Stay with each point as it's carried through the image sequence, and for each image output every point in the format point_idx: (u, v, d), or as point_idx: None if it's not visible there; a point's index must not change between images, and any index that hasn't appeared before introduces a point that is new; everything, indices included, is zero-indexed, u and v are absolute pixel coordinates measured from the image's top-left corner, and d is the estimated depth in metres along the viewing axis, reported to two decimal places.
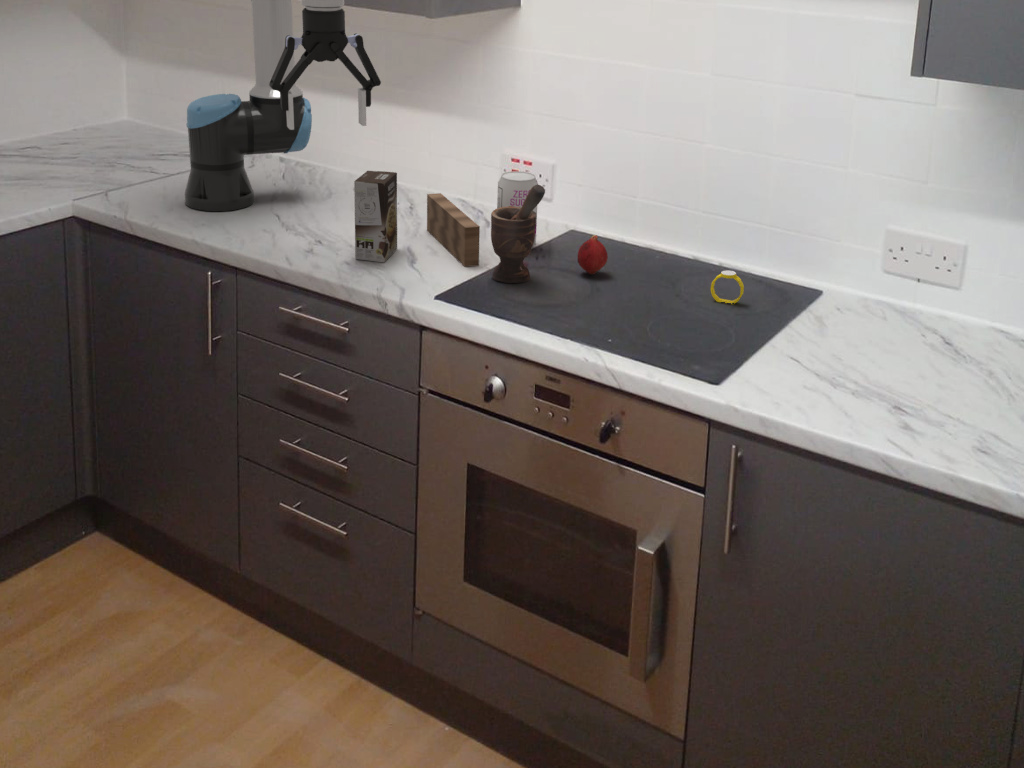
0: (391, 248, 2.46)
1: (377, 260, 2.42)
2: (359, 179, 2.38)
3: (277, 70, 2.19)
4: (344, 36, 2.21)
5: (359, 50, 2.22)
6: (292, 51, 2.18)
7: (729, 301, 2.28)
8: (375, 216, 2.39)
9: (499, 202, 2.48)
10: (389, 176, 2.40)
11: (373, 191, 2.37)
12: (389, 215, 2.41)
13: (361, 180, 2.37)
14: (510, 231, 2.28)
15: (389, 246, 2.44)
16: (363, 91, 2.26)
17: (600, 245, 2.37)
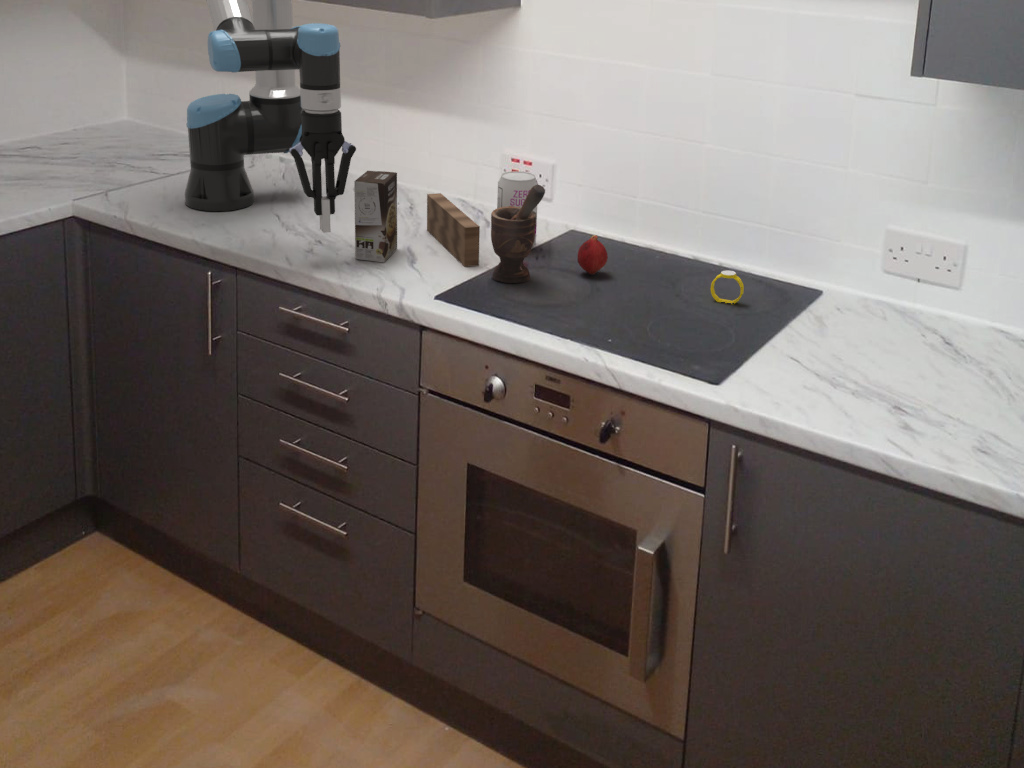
0: (391, 248, 2.46)
1: (377, 260, 2.42)
2: (359, 179, 2.38)
3: (301, 180, 2.34)
4: (343, 138, 2.33)
5: (346, 157, 2.35)
6: (301, 159, 2.32)
7: (729, 301, 2.28)
8: (375, 216, 2.39)
9: (499, 202, 2.48)
10: (389, 176, 2.40)
11: (373, 191, 2.37)
12: (389, 215, 2.41)
13: (361, 180, 2.37)
14: (510, 231, 2.28)
15: (389, 246, 2.44)
16: (327, 200, 2.37)
17: (600, 245, 2.37)
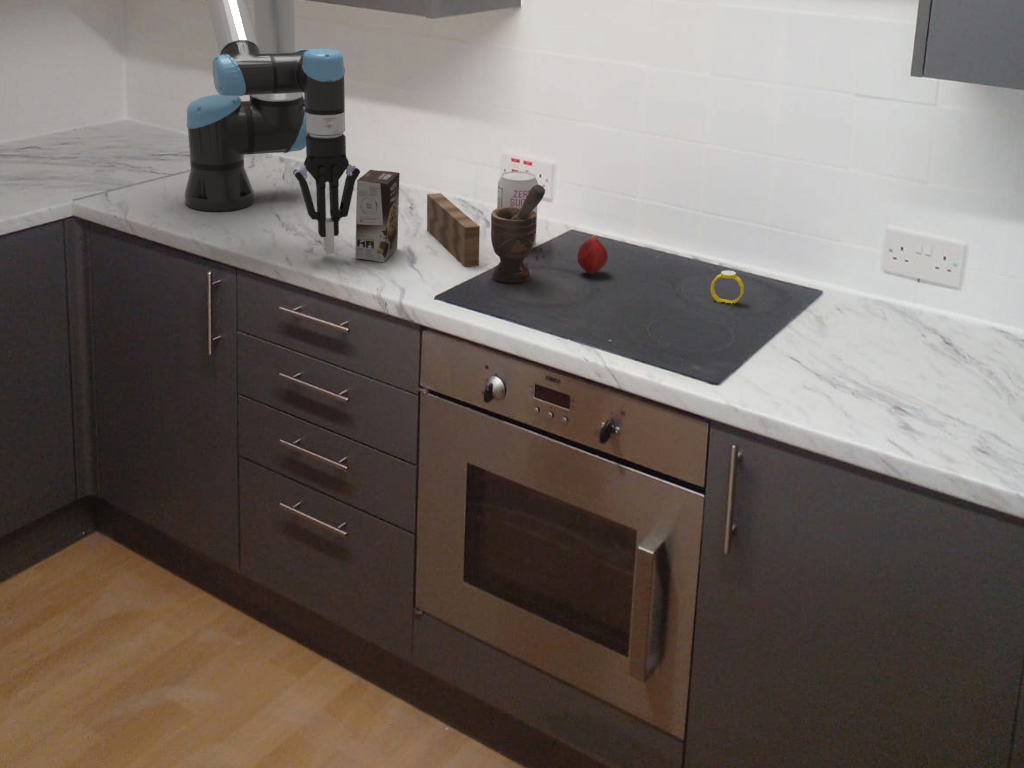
0: (391, 248, 2.46)
1: (377, 260, 2.42)
2: (362, 178, 2.38)
3: (306, 203, 2.36)
4: (347, 161, 2.35)
5: (350, 180, 2.37)
6: (305, 182, 2.34)
7: (729, 301, 2.28)
8: (377, 216, 2.38)
9: (499, 202, 2.48)
10: (392, 176, 2.40)
11: (375, 191, 2.36)
12: (391, 216, 2.41)
13: (364, 179, 2.37)
14: (510, 231, 2.28)
15: (389, 246, 2.44)
16: (331, 222, 2.39)
17: (600, 245, 2.37)
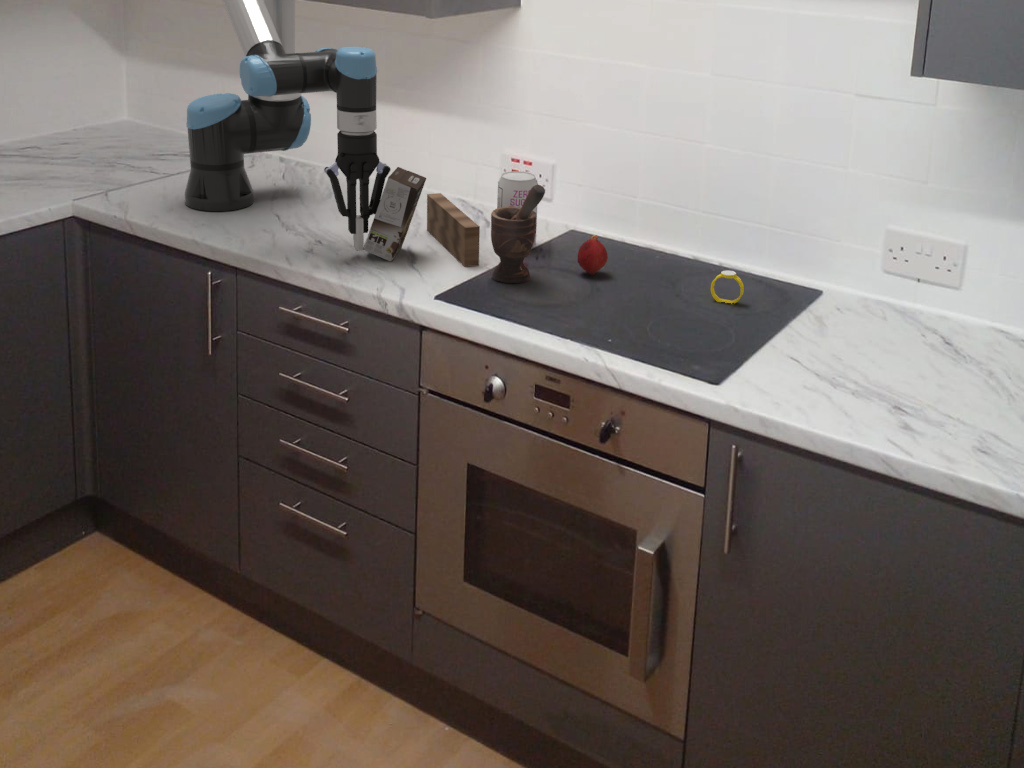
0: (399, 248, 2.46)
1: (384, 257, 2.42)
2: (392, 176, 2.37)
3: (337, 200, 2.38)
4: (378, 159, 2.37)
5: (380, 177, 2.39)
6: (336, 179, 2.36)
7: (729, 301, 2.28)
8: (397, 216, 2.38)
9: (499, 202, 2.48)
10: (420, 181, 2.40)
11: (404, 193, 2.36)
12: (409, 219, 2.41)
13: (394, 178, 2.36)
14: (510, 231, 2.28)
15: (398, 247, 2.44)
16: (361, 219, 2.41)
17: (600, 245, 2.37)
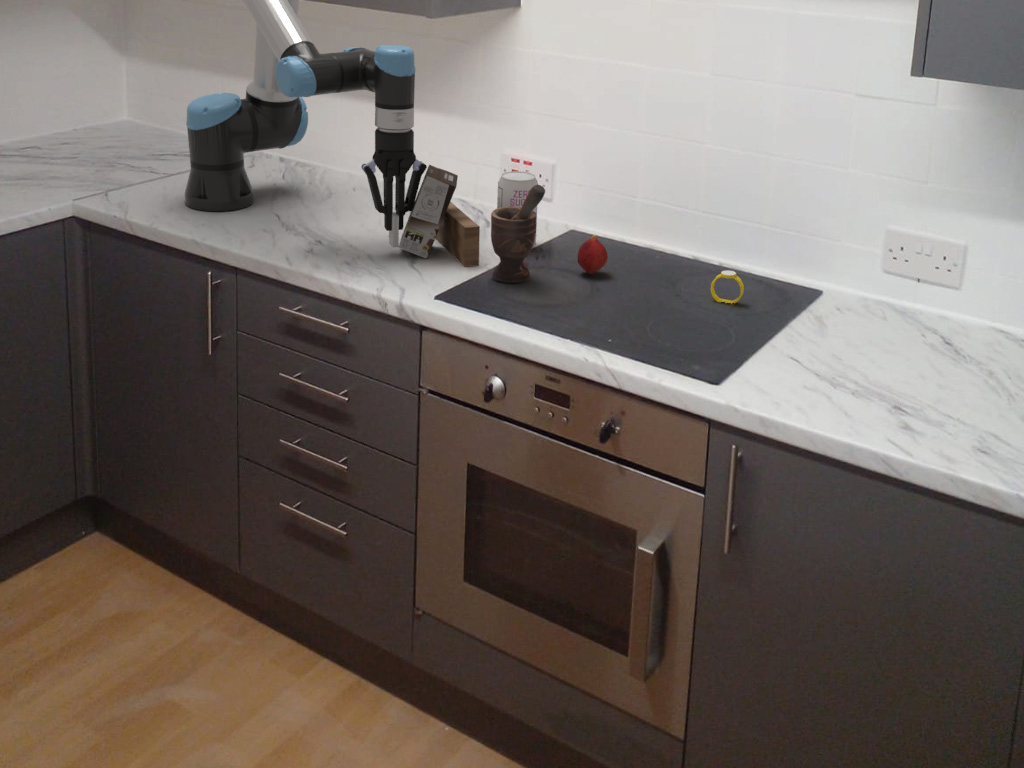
0: None
1: (420, 255, 2.44)
2: (430, 174, 2.39)
3: (373, 196, 2.40)
4: (415, 156, 2.39)
5: (416, 175, 2.41)
6: (374, 176, 2.38)
7: (729, 301, 2.28)
8: (435, 214, 2.41)
9: (499, 202, 2.48)
10: (454, 178, 2.43)
11: (442, 190, 2.39)
12: None
13: (432, 176, 2.39)
14: (510, 231, 2.28)
15: None
16: (396, 216, 2.43)
17: (600, 245, 2.37)
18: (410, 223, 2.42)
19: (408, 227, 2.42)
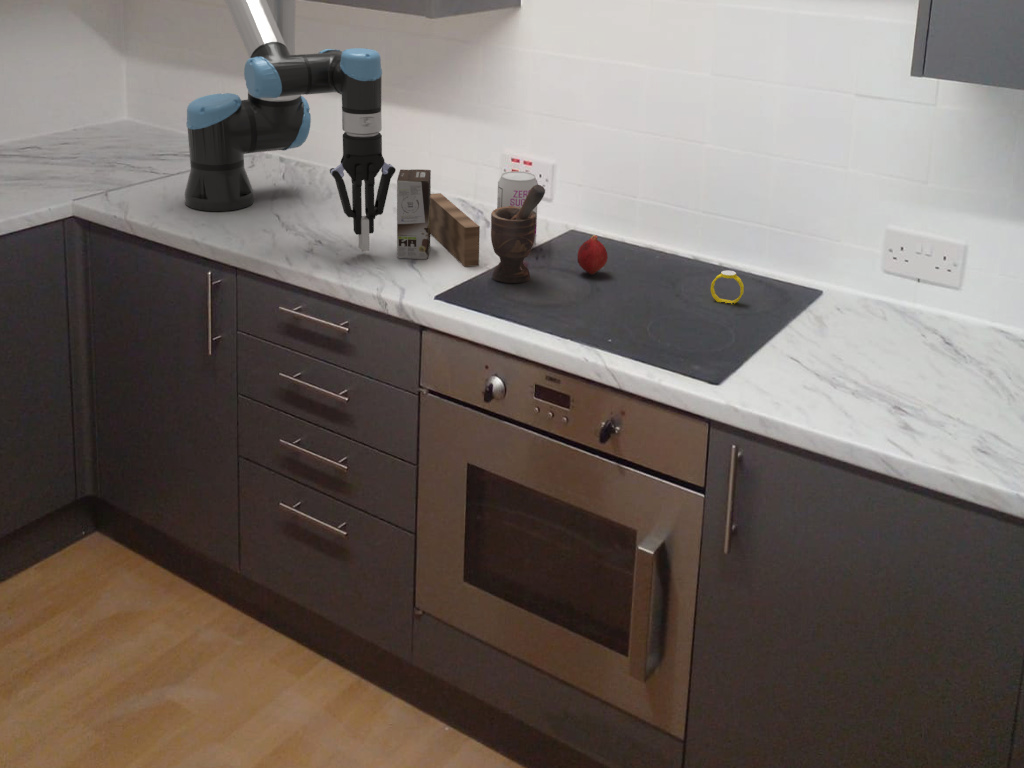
0: (429, 245, 2.48)
1: (420, 257, 2.44)
2: (400, 178, 2.39)
3: (342, 201, 2.39)
4: (383, 160, 2.38)
5: (386, 178, 2.40)
6: (342, 180, 2.37)
7: (729, 301, 2.28)
8: (418, 214, 2.41)
9: (499, 202, 2.48)
10: (427, 174, 2.43)
11: (417, 189, 2.39)
12: (429, 213, 2.44)
13: (403, 179, 2.39)
14: (510, 231, 2.28)
15: None
16: (366, 220, 2.42)
17: (600, 245, 2.37)
18: (399, 231, 2.42)
19: (399, 235, 2.43)
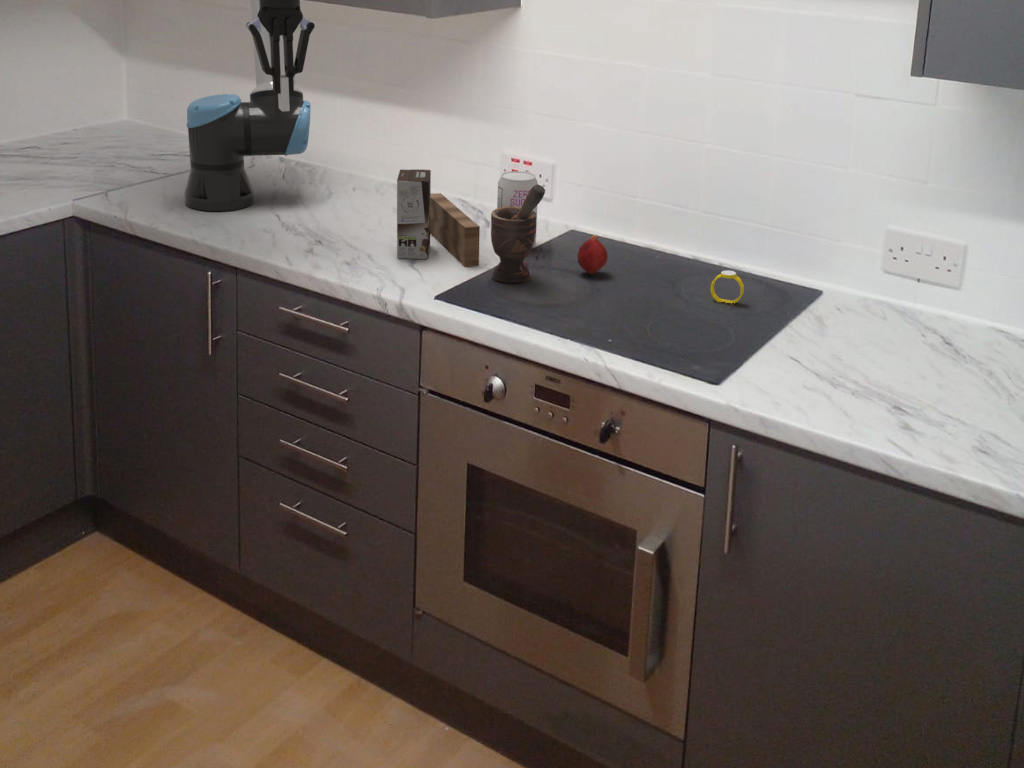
0: (429, 245, 2.48)
1: (420, 257, 2.44)
2: (400, 178, 2.39)
3: (260, 57, 2.33)
4: (301, 14, 2.32)
5: (304, 34, 2.34)
6: (259, 35, 2.30)
7: (729, 301, 2.28)
8: (418, 214, 2.41)
9: (499, 202, 2.48)
10: (427, 174, 2.43)
11: (417, 189, 2.39)
12: (429, 213, 2.44)
13: (403, 179, 2.39)
14: (510, 231, 2.28)
15: None
16: (286, 78, 2.36)
17: (600, 245, 2.37)
18: (399, 231, 2.42)
19: (399, 235, 2.43)
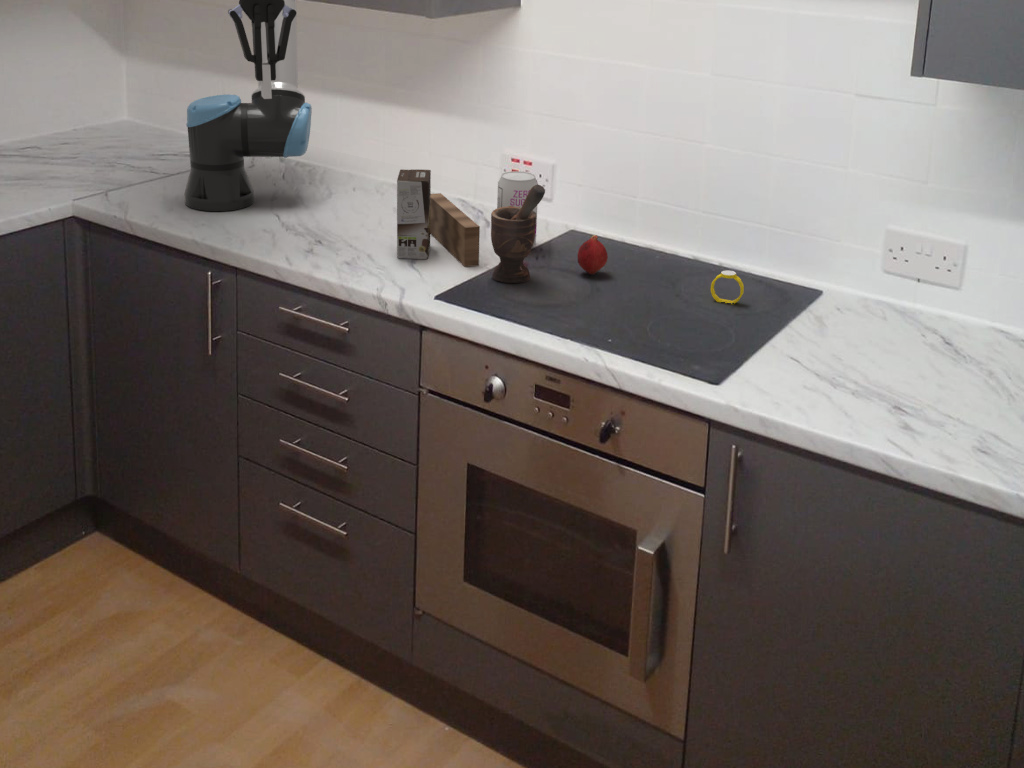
0: (429, 245, 2.48)
1: (420, 257, 2.44)
2: (400, 178, 2.39)
3: (241, 44, 2.33)
4: (283, 1, 2.33)
5: (286, 21, 2.34)
6: (240, 21, 2.31)
7: (729, 301, 2.28)
8: (418, 214, 2.41)
9: (499, 202, 2.48)
10: (427, 174, 2.43)
11: (417, 189, 2.39)
12: (429, 213, 2.44)
13: (403, 179, 2.39)
14: (510, 231, 2.28)
15: None
16: (267, 65, 2.36)
17: (600, 245, 2.37)
18: (399, 231, 2.42)
19: (399, 235, 2.43)
